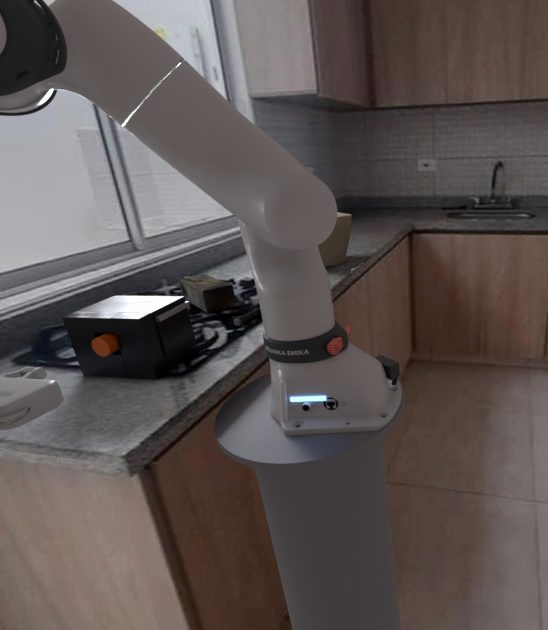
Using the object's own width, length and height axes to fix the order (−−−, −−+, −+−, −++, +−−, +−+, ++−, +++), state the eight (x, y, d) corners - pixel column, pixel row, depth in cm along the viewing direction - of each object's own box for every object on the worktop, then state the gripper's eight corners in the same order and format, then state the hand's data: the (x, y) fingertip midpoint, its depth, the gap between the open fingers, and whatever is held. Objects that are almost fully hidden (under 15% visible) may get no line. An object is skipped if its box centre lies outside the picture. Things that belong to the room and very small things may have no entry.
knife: (277, 293, 120) (292, 294, 119) (278, 299, 121) (293, 300, 119) (227, 318, 103) (245, 319, 102) (229, 325, 104) (246, 327, 102)
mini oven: (202, 350, 91) (188, 296, 87) (161, 379, 80) (143, 319, 76) (132, 348, 94) (115, 295, 90) (83, 375, 83) (61, 317, 79)
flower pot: (331, 254, 167) (325, 209, 161) (358, 263, 153) (353, 214, 147) (283, 264, 156) (275, 216, 150) (307, 274, 142) (300, 222, 136)
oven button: (126, 348, 81) (121, 331, 80) (112, 357, 78) (106, 338, 77) (110, 348, 82) (104, 330, 81) (95, 356, 79) (88, 338, 78)
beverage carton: (211, 292, 129) (206, 270, 127) (238, 306, 116) (233, 282, 114) (182, 299, 124) (176, 277, 122) (207, 315, 111) (201, 290, 109)
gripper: (-13, 408, 52) (88, 355, 65) (-143, 398, 56) (-23, 350, 68) (8, 451, 54) (102, 392, 67) (-118, 439, 58) (-7, 385, 71)
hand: (38, 371), depth 68 cm, fingers closed
